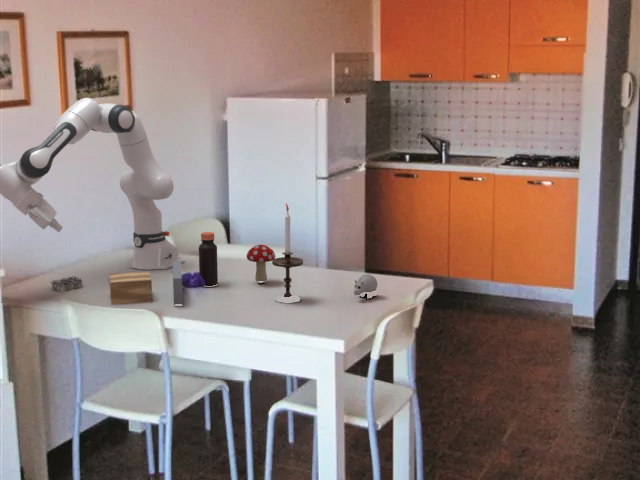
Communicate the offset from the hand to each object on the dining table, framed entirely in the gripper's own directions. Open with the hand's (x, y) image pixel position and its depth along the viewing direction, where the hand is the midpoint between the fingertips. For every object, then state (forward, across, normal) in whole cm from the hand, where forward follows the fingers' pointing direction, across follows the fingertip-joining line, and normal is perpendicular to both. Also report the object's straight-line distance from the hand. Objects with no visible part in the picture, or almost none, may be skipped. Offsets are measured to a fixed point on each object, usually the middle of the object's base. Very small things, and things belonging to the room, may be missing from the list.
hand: (60, 230), depth 316 cm
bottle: (+54, +7, -19) cm, 58 cm away
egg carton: (+17, +11, +18) cm, 27 cm away
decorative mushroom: (+68, +7, -34) cm, 76 cm away
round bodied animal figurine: (+92, -19, -58) cm, 110 cm away
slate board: (+45, -6, -11) cm, 47 cm away
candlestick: (+73, -17, -38) cm, 84 cm away
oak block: (+34, -6, +1) cm, 35 cm away
